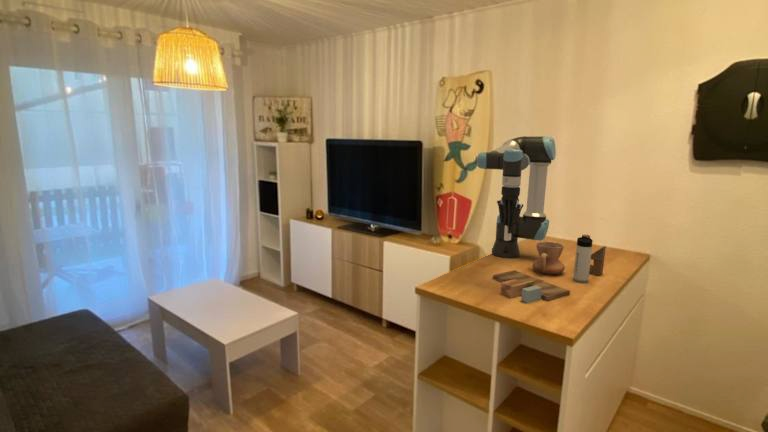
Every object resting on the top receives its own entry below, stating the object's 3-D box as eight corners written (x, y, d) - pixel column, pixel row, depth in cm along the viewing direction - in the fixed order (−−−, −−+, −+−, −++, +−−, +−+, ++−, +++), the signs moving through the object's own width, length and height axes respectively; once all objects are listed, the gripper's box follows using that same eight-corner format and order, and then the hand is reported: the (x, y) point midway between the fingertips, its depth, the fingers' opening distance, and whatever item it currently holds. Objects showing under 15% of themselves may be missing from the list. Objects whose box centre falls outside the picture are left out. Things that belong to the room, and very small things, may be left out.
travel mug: (587, 278, 188) (591, 237, 185) (589, 283, 182) (593, 240, 178) (572, 277, 190) (576, 235, 187) (573, 281, 184) (578, 239, 180)
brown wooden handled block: (500, 293, 170) (501, 282, 169) (527, 287, 178) (528, 276, 177) (511, 298, 165) (512, 286, 164) (538, 291, 173) (539, 280, 172)
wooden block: (599, 276, 192) (604, 239, 189) (576, 270, 200) (580, 235, 197) (602, 274, 195) (607, 238, 191) (579, 269, 203) (583, 234, 199)
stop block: (521, 300, 163) (522, 288, 162) (534, 296, 167) (535, 285, 166) (527, 303, 160) (528, 291, 159) (541, 299, 164) (542, 287, 163)
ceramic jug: (539, 264, 209) (541, 238, 206) (569, 270, 199) (571, 242, 196) (525, 274, 196) (527, 245, 193) (556, 280, 186) (558, 251, 183)
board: (492, 278, 188) (493, 274, 187) (514, 273, 195) (514, 270, 194) (547, 301, 162) (547, 296, 162) (569, 294, 169) (570, 290, 169)
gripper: (493, 185, 176) (490, 237, 181) (516, 188, 165) (512, 244, 169) (505, 184, 180) (502, 235, 184) (529, 187, 168) (525, 242, 173)
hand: (507, 240), depth 177 cm, fingers closed
